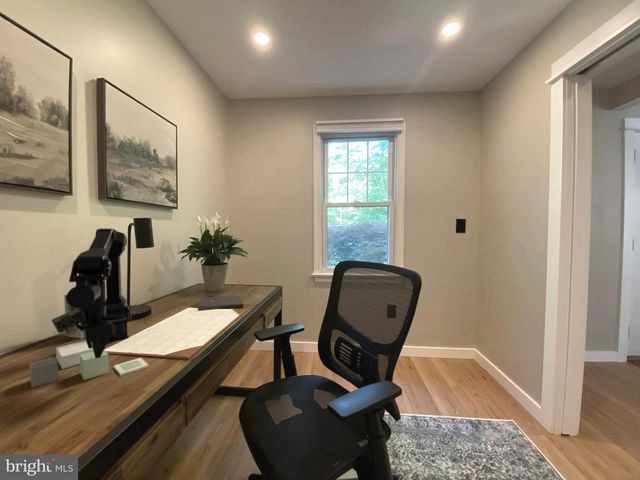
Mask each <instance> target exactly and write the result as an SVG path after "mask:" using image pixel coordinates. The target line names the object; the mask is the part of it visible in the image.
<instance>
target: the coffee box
mask: <svg viewBox="0 0 640 480" xmlns="http://www.w3.org/2000/svg"><path fill="white" fill-rule="evenodd" d="M66 296H67V294H64V299H63V300H64V314H65V313H68V312H70V311H73V310H75V309H77V308H75V307H72V306H70V305H69V304H68V303H67V301H66ZM65 337H71V338H76V339H85V338H84V334H83V331H81V330H80V329H78V328H77V327H76V326H73V327H71V328H69V329H67V330H66V331H65Z"/></svg>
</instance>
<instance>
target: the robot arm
mask: <svg viewBox="0 0 640 480" xmlns="http://www.w3.org/2000/svg"><path fill="white" fill-rule="evenodd" d="M95 230H96V231H95V234H94V239H93V240H92V242H91V244H90V246H89V248H88V250H85V251H82V252H80V253H79V254H78V255H77V257H76V258H75V259H74V260H73V263H72V267H71V271H70V275H69V279H68V280H69V281H68V282H69V283H75V286H74V287H73V288H71V289H70V290H69V291H68V292H67V294H66V295H67V296H66V301H67V303H68V304H69V305H70V306H72V307H75V308H77V309H75V310H73V311H70V312H68V313H65V312H64V313H62V314H61V315H58V316H57V317H54V318H52V319H51V322H52V324H53V326H54V328H55V330H57V333H58V334H60V333H64V332H66V330H67V329H69V328H71V327H73V326H76V327H77V328H78V329H80V330H81V331H83V334H84V338H83V339H84V340H85V341H86V342H87V345H88V348H89V349H90V348H93V352H94V355H95V358H100V357H101V355H102V353H103V351H104V349H105V350H106V347H107V345H108V343H111V342H115V341H121V340H123V339H124V340H125V339H128V338H129V335H128V323H129V322H131V321H132V318H133V317H132V311H131V309H130V307H129V305H128V301H127V299H126V298H125V297H124V296H123V295H122V276H121V274H122V273H121V272H122V271H121V256H122V254H123V253H124V251H125V250H126V246H127V245H128V244H127V243H128V239H127V238H128V237H127V235H126V234H125V233H124V232H120V231H118V230H116V229H114V228H99V229H95Z"/></svg>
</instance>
